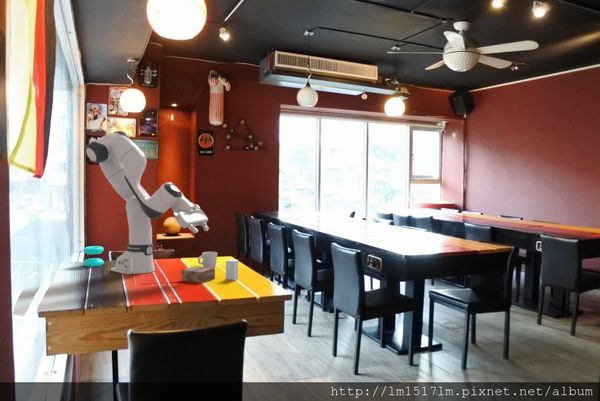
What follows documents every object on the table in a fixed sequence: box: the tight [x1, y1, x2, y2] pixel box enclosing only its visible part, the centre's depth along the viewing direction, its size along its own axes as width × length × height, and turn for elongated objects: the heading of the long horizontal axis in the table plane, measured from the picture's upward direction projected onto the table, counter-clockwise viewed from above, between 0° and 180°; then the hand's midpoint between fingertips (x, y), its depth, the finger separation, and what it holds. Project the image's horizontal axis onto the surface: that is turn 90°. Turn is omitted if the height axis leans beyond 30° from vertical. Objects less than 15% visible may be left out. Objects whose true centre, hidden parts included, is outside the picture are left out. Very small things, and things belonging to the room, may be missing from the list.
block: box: [225, 258, 239, 281], centre depth 220 cm, size 4×4×9 cm
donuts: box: [82, 245, 104, 268], centre depth 246 cm, size 10×10×10 cm
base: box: [181, 265, 216, 284], centre depth 218 cm, size 11×11×5 cm
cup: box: [197, 251, 218, 268], centre depth 246 cm, size 11×8×8 cm
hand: (202, 231), depth 220 cm, fingers open, 8 cm apart
